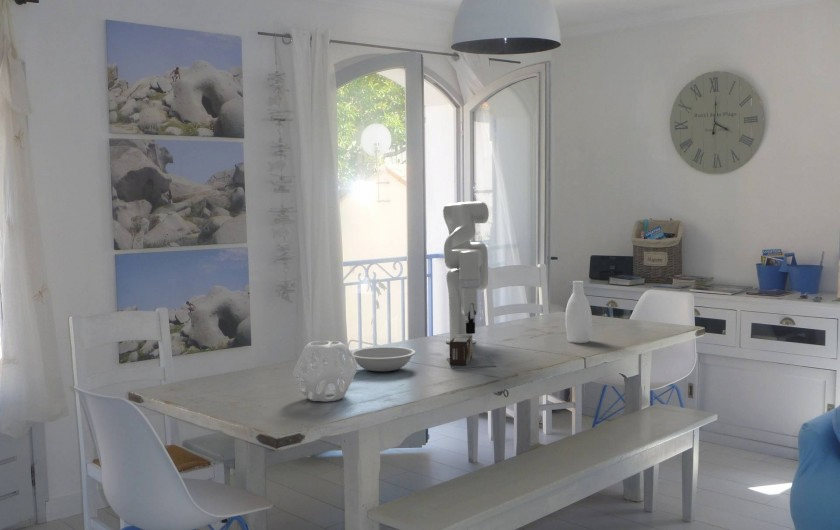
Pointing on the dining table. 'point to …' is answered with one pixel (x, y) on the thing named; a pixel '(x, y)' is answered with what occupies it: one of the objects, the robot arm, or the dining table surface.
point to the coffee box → (461, 350)
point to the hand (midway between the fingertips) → (470, 333)
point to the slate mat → (477, 363)
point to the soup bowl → (383, 358)
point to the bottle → (578, 315)
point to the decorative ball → (325, 370)
